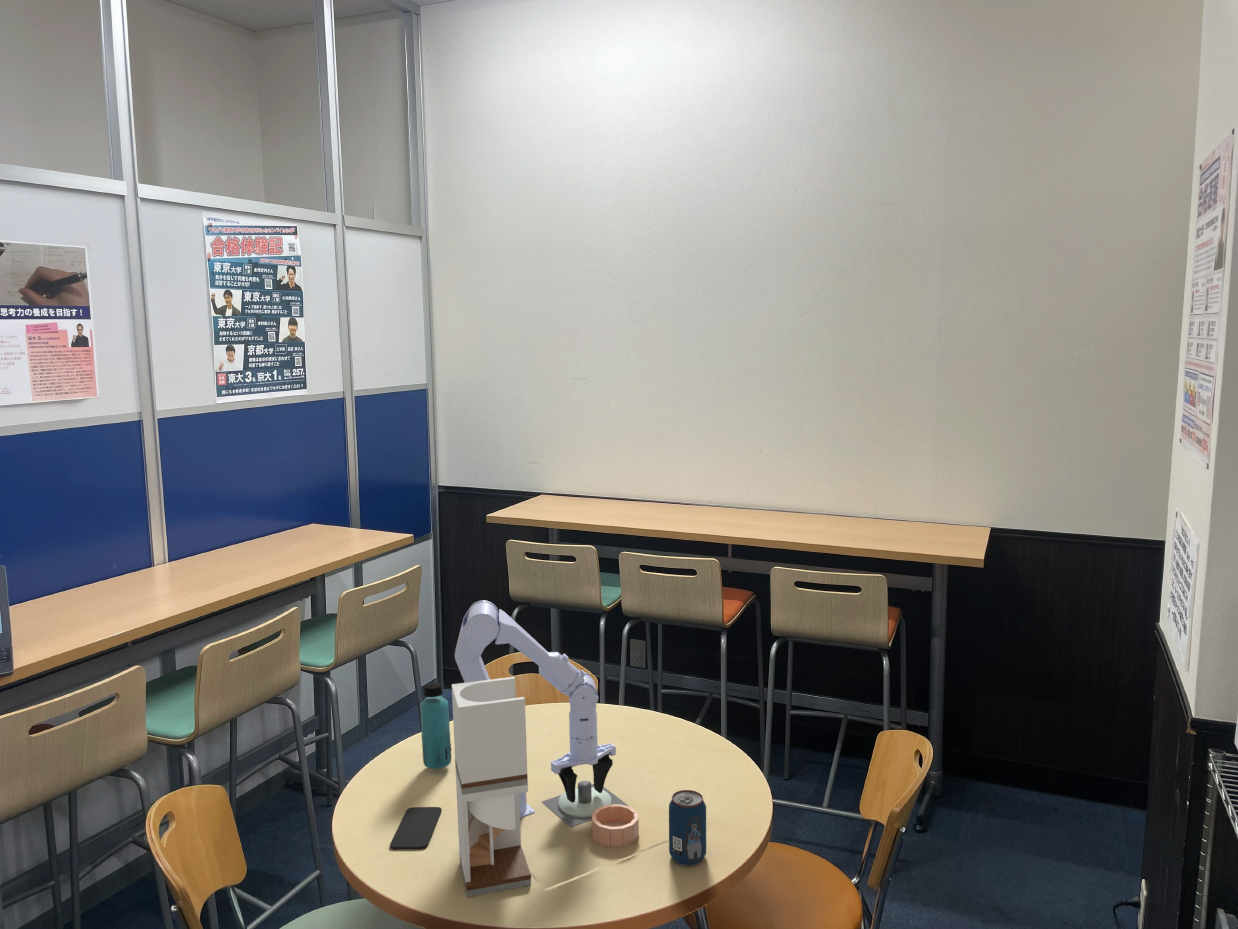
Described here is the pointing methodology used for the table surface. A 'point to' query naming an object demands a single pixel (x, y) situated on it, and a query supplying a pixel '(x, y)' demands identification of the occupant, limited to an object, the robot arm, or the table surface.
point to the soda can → (687, 828)
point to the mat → (574, 821)
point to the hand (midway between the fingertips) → (584, 795)
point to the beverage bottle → (435, 728)
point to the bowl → (615, 825)
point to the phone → (416, 828)
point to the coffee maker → (490, 784)
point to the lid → (584, 801)
